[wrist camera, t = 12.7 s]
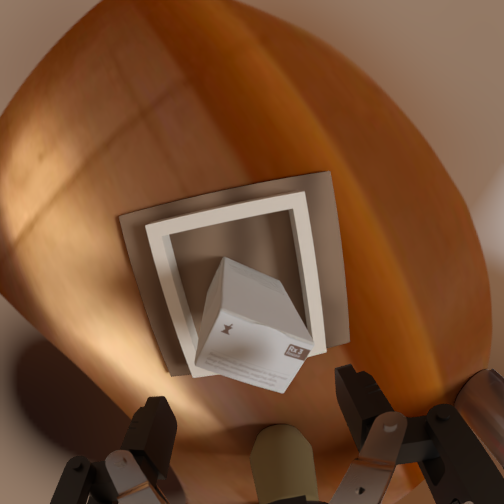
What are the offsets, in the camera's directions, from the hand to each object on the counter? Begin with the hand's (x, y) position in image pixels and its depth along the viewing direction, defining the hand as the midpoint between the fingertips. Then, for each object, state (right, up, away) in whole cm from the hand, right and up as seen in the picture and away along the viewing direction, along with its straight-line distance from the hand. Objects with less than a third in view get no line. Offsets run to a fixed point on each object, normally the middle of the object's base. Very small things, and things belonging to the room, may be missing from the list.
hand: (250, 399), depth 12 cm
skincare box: (-1, +4, +15) cm, 16 cm away
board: (-1, +4, +16) cm, 16 cm away
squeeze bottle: (+4, -18, +22) cm, 28 cm away
